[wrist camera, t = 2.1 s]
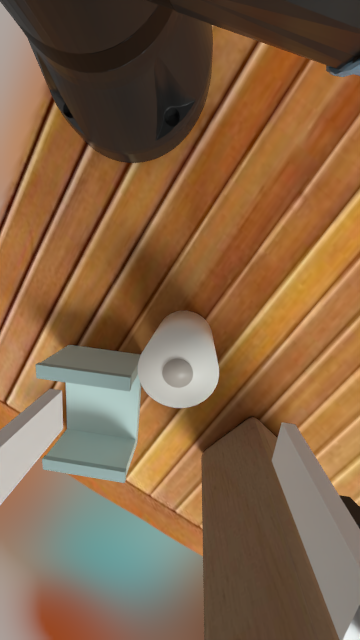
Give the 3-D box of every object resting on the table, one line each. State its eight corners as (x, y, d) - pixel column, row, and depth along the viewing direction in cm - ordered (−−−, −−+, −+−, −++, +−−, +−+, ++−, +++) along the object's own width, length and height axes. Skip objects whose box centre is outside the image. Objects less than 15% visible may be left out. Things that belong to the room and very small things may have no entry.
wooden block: (198, 450, 32) (198, 747, 12) (252, 410, 29) (358, 699, 10) (245, 492, 33) (312, 822, 13) (300, 457, 30) (478, 795, 11)
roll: (159, 307, 27) (139, 329, 18) (216, 314, 26) (225, 340, 17) (154, 359, 28) (134, 403, 20) (208, 367, 28) (212, 415, 19)
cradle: (68, 344, 29) (35, 364, 23) (144, 354, 28) (130, 377, 23) (70, 432, 33) (42, 469, 27) (137, 443, 32) (124, 482, 26)
